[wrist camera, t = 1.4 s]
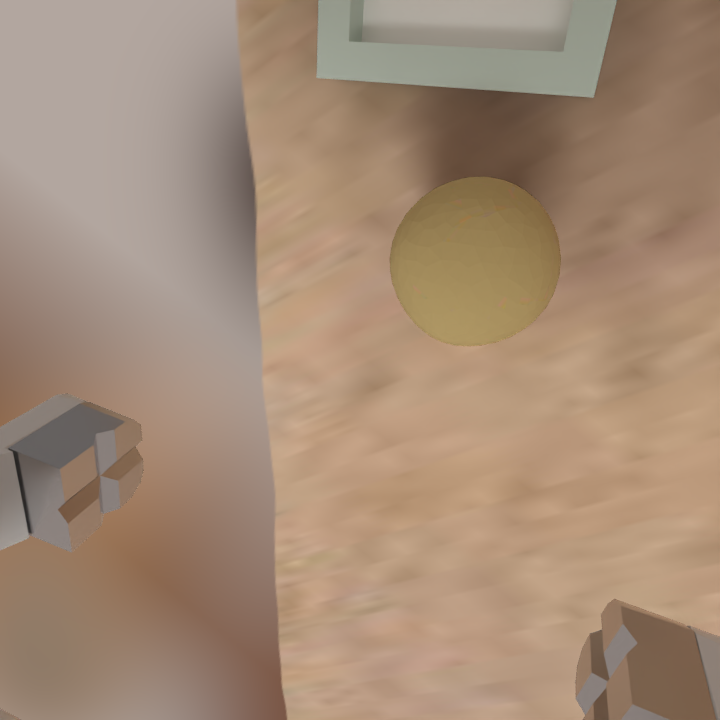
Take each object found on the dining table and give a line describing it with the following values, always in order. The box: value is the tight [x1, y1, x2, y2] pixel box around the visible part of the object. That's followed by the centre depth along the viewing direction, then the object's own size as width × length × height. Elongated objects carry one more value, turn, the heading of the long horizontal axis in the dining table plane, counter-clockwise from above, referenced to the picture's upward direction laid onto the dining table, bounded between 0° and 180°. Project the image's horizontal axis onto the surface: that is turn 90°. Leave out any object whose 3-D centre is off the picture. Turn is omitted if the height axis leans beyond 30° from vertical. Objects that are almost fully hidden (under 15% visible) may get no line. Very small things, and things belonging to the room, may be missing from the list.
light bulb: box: [390, 177, 561, 346], centre depth 22 cm, size 6×6×10 cm
